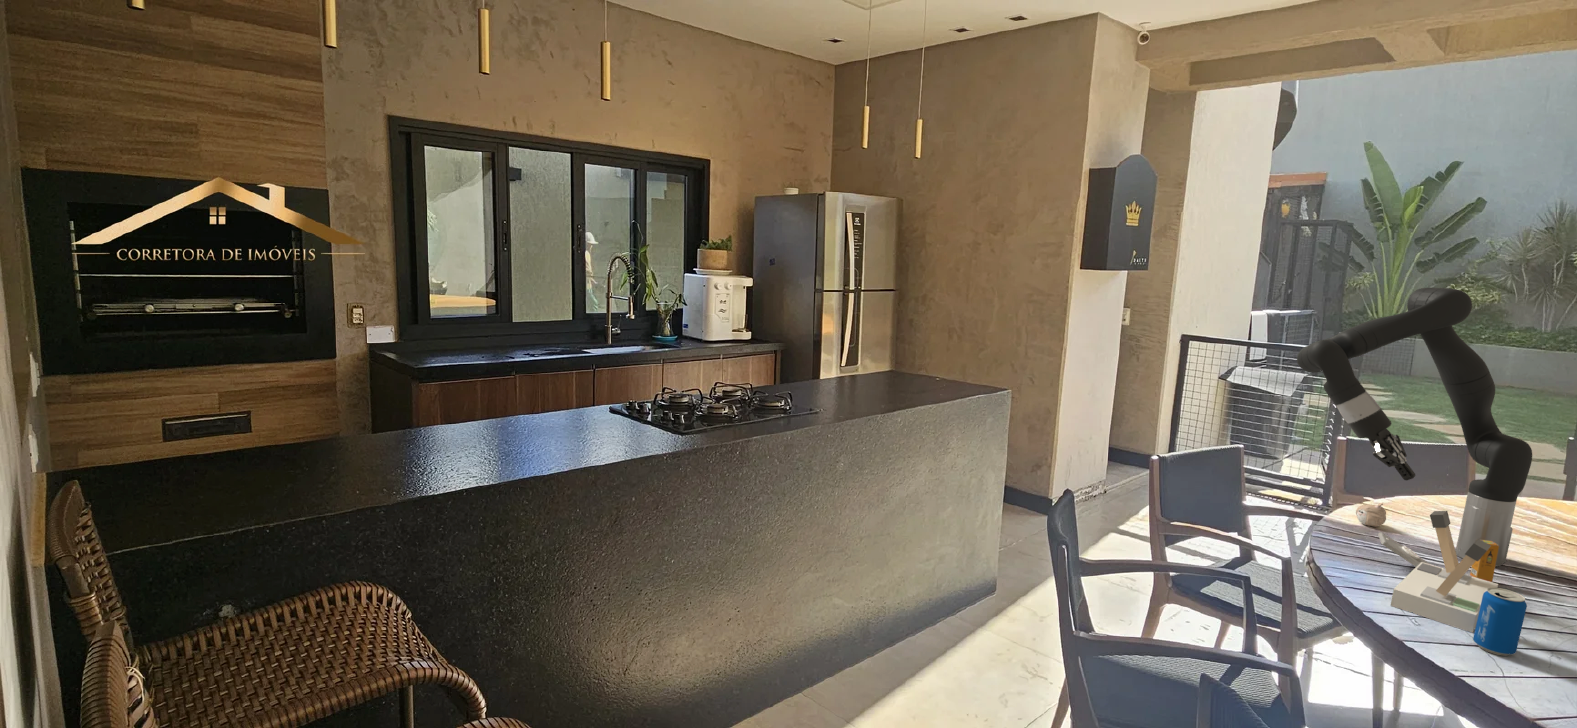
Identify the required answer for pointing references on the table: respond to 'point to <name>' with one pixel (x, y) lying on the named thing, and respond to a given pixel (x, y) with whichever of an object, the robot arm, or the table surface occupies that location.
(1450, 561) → the lever charcoal
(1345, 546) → the table surface
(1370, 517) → the brown hamster figurine
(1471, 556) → the tan lever
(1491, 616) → the beverage can
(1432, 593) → the switch unit
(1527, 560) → the table surface
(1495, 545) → the supplement box
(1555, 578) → the table surface
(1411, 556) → the light switch
